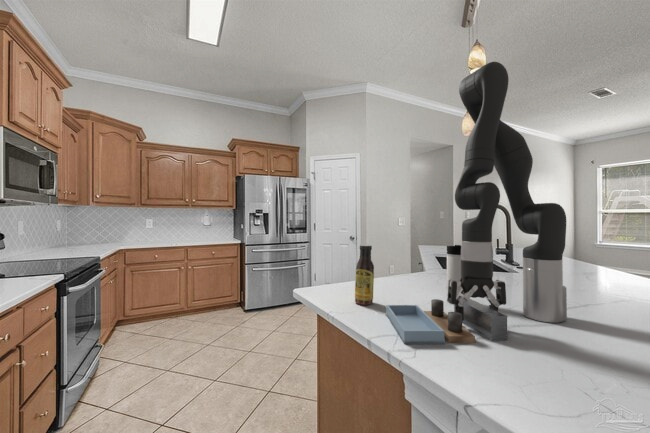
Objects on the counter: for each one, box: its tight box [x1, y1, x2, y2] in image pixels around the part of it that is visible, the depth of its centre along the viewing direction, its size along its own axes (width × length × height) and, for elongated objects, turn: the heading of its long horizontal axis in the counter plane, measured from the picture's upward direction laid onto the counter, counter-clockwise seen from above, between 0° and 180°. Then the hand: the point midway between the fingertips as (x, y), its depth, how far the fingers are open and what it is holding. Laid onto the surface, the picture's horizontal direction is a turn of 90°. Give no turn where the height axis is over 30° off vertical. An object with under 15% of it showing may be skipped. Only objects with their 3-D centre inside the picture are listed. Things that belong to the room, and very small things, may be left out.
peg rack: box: [423, 298, 476, 344], centre depth 74 cm, size 6×18×6 cm, turn 0°
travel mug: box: [446, 244, 462, 305], centre depth 97 cm, size 6×7×20 cm
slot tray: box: [385, 304, 446, 345], centre depth 74 cm, size 9×20×3 cm, turn 0°
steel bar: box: [453, 298, 508, 342], centre depth 74 cm, size 4×16×6 cm, turn 5°
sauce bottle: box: [354, 244, 375, 306], centre depth 97 cm, size 6×6×20 cm
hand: (476, 320), depth 75 cm, fingers open, 8 cm apart
